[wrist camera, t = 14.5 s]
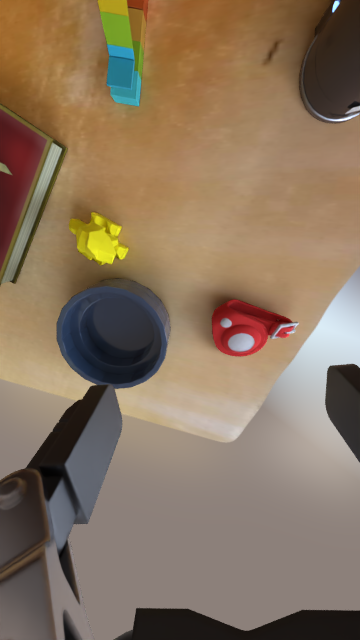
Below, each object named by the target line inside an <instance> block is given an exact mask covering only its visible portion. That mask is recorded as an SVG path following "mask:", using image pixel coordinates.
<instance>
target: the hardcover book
mask: <svg viewBox="0 0 360 640" xmlns="http://www.w3.org/2000/svg"><path fill="white" fill-rule="evenodd" d="M67 149H68V148H66V147H65V146H63V145H62V144H60V143H59V142H57V141H56V140H54V139H53V138H51V137H50V136H48V135H47V134H45V133H44V132H42V131H41V130H39V129H38V128H36V127H35V126H33V125H32V124H30V123H29V122H27V121H26V120H24V119H23V118H21V117H20V116H18V115H17V114H15V113H14V112H12V111H11V110H9V109H8V108H6V107H5V106H3V105H2V104H0V285H1V284H2V283H5V282H8V281H10V282H12V283H14V284H15V283H16V281H17V278H18V276H19V273H20V271H21V268H22V266H23V263H24V260H25V258H26V255H27V253H28V250H29V247H30V245H31V242H32V240H33V237H34V235H35V232H36V229H37V227H38V224H39V222H40V219H41V216H42V214H43V211H44V209H45V206H46V204H47V201H48V198H49V196H50V193H51V191H52V188H53V185H54V183H55V180H56V178H57V175H58V172H59V170H60V167H61V165H62V162H63V160H64V157H65V154H66V152H67Z"/></svg>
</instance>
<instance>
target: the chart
mask: <svg viewBox="0 0 360 640" xmlns="http://www.w3.org/2000/svg"><path fill="white" fill-rule="evenodd" d="M98 5H99V9H100V14H101V19H102V23H103V28H104V33H105V38H106V42H107V47H108V52H109V55H110V56H109V64H108V74H107V86H111V90H110V93H111V94H110V95H111V96H112V98H113V99H114V101H115V102H117V103H123V104H129V105H134V106H139V102H140V90H141V79H142V67H143V55H144V44H145V33H146V21H147V9H148V0H98Z"/></svg>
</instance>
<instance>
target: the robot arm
mask: <svg viewBox="0 0 360 640" xmlns="http://www.w3.org/2000/svg"><path fill="white" fill-rule="evenodd" d="M299 84H300V94H301V98H302V101H303V103H304V105H305V107H306V109H307V110H308V112H309V113H310V114H311V115H312V116H313V117H315V118H316V119H318V120H320V121H322V122H325V123H341V122H345V121H348V120H350V119H352V118H354V117H355V116H357V115H358V114H360V0H331V3H330V5H329V7H328V8H327V10H326V11H325V13H324V15H323V16H322V18H321V20H320V21H319V23H318V25H317V26H316V28H315V38H314V41H313V42H312V44H311V45H310V47H309V49H308V51H307V53H306V55H305V57H304V60H303V63H302V66H301V71H300V81H299ZM325 405H326V410H327V413H328V416H329V418H330V420H331V421H332V423H333V424H334V426H335V427H336V429H337V430H338V432H339V433H340V434H341V436H342V437H343V439H344V440H345V442H346V443H347V445H348V446H349V447H350V449H351V450H352V452H353V453H354V455H355V456H356V458H357V459H358V461H359V462H360V368H359V367H358V366H357V365H355V364H346V365H335V366H330V367H329V368H328V371H327V384H326V399H325ZM121 430H122V416H121V412H120V408H119V404H118V401H117V397H116V393H115V390H114V387H113V385H112V384H106V385H95V386H91V387H90V388H89V390H88V391H87V393H86V394H85V396H84V397H83V399H82V400H78V401H77V402H75V403H74V404H73V405H72V406H71V407H69V408H68V409H67V410H66V411H65V413H64V414H63V416H62V417H61V419H60V420H59V423H57V424H56V426H55V427H54V429H53V432H51V433H50V434H49V436H48V437H47V439H46V440H45V441H44V443H43V444H42V446H41V447H40V448H39V450H38V451H37V453H36V454H35V456H34V457H33V458H32V460H31V461H30V463H29V464H28V465H27V467H26V468H25V469H21V470H18V471H15V472H13V473H11V474H9V475H7V476H6V477H5V478H3V479H1V480H0V640H94V636H93V633H92V630H91V627H90V624H89V621H88V618H87V614H86V611H85V606H84V602H83V597H82V593H81V588H80V584H79V579H78V574H77V570H76V566H75V561H74V556H73V552H72V548H71V542H70V539H69V537H68V536H69V534H70V531H71V529H72V527H73V524H88V522H89V519H90V516H91V514H92V511H93V508H94V505H95V503H96V500H97V497H98V494H99V491H100V489H101V486H102V483H103V481H104V478H105V475H106V472H107V470H108V467H109V464H110V461H111V459H112V456H113V453H114V450H115V448H116V445H117V442H118V439H119V437H120V433H121ZM114 640H360V611H341V610H339V611H338V610H301V611H299V612H296V613H293V614H291V615H289V616H286V617H283V618H281V619H278V620H276V621H273V622H271V623H268V624H266V625H263V626H261V627H258V628H256V629H253V630H250V631H244V630H240V629H237V628H235V627H232V626H230V625H227V624H224V623H222V622H220V621H217V620H214V619H212V618H210V617H207V616H205V615H202V614H200V613H197V612H195V611H192V610H189V609H152V608H137V609H136V614H135V621H134V626H133V630H131V631H128V632H126V633H124V634H122V635H121V636H119V637H118V638H116V639H114Z"/></svg>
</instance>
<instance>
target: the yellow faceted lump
mask: <svg viewBox="0 0 360 640" xmlns="http://www.w3.org/2000/svg"><path fill="white" fill-rule="evenodd" d="M121 228H122V227H121V226H119V225H118V224H116V223H114V222H113V221H111V220H109V219H108V218H106V217H104V216H102V215H101V214H99V213H95V212H91V220H90V223H89V224H86V223H84V222H83V221H81V220H79V219H71V220H70V222H69V230H70V231H71V232H72V233H74V234H76V239H77V248H78V249H79V250H78V252H80V253H81V254H83V255H84V256H85V257H87V258H88V259H89V260H94V261H96V262H97V263H98V264H99V265H100V266H101V265H103V264H105V263H109V264H112V263H113V260H114V258H115V257H117V258H118V259H120V260H121V259H123V258H125V256H126V254H127V251H128V249H129V248H128V247H126V246H124V245H122V244H121V243H119V242H118V235H119V232H120V230H121Z"/></svg>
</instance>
